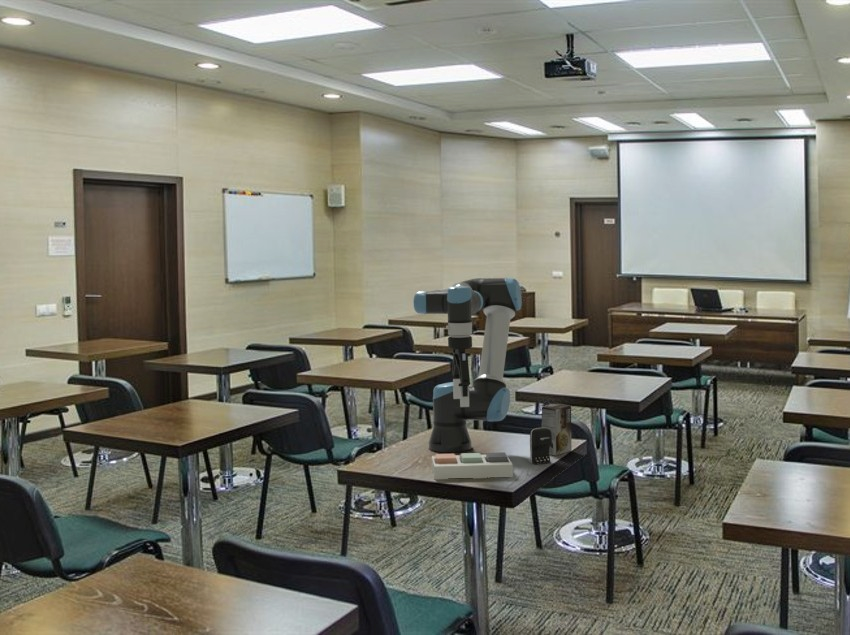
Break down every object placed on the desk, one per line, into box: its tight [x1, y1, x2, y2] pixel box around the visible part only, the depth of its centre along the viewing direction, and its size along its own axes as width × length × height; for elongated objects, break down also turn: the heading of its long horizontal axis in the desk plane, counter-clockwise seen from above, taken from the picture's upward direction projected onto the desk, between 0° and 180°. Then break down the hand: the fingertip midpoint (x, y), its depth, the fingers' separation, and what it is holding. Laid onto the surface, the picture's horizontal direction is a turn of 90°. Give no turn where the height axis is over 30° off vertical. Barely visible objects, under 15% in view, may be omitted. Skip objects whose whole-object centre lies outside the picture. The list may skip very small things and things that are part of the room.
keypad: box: [431, 453, 514, 480], centre depth 266 cm, size 14×24×4 cm, turn 93°
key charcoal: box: [485, 451, 509, 462], centre depth 266 cm, size 6×6×3 cm
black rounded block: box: [529, 427, 552, 465], centre depth 277 cm, size 7×4×11 cm, turn 119°
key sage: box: [460, 452, 482, 463], centre depth 266 cm, size 6×6×3 cm
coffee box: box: [541, 402, 573, 456], centre depth 292 cm, size 9×6×16 cm
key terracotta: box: [435, 453, 456, 464], centre depth 266 cm, size 6×6×3 cm
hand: (461, 402), depth 269 cm, fingers open, 13 cm apart
